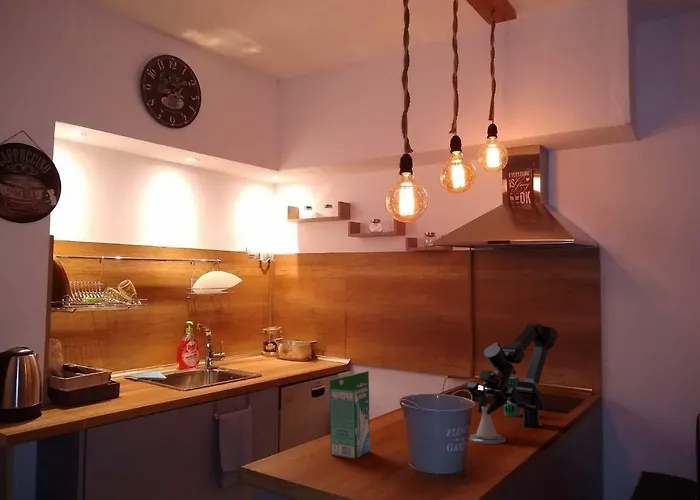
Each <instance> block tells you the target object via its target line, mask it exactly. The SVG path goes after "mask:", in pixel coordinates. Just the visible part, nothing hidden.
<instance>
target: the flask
mask: <svg viewBox="0 0 700 500" xmlns="http://www.w3.org/2000/svg"><path fill="white" fill-rule="evenodd" d="M488 407H489V405H486V406H482V407H481V409H482V412H481V413H482V414H481V419H480V422H479V425H478V427H477V430H476V433H475V434H476V436H475V437H478V438H481V439H496V438H497V437H498V435H499V434H498V433H497V431H496V427H495V424H494V421H493V418H492V415H491V414H492V413H491V414H489V415H488V414H487V410H488ZM497 434H498V435H497Z"/></svg>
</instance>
